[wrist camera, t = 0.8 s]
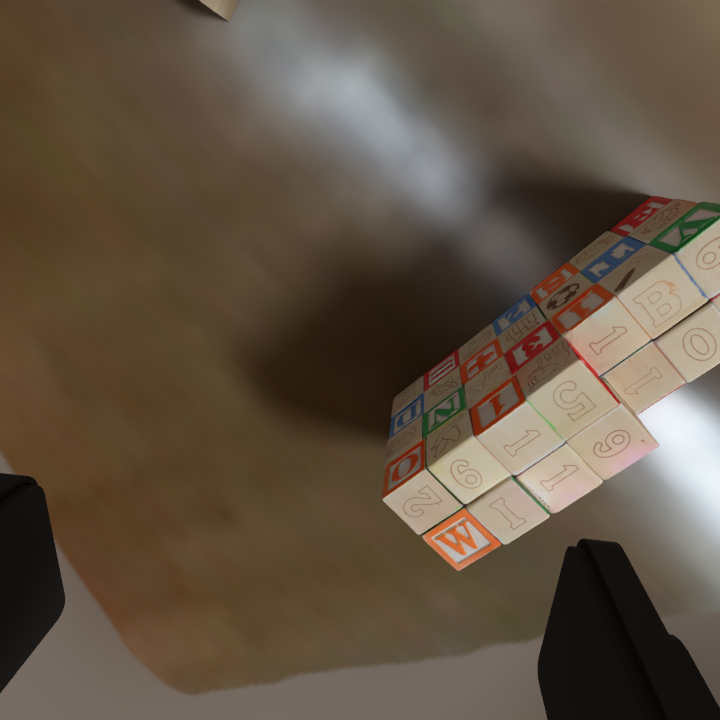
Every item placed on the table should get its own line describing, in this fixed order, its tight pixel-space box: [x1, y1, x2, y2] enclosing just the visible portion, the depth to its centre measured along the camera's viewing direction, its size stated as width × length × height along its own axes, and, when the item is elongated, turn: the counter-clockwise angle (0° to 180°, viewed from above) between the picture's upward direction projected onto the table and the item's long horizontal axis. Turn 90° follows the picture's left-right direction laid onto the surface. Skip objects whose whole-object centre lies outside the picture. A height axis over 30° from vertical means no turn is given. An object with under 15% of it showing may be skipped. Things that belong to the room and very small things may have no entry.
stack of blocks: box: [382, 196, 720, 571], centre depth 29 cm, size 21×6×12 cm, turn 134°
